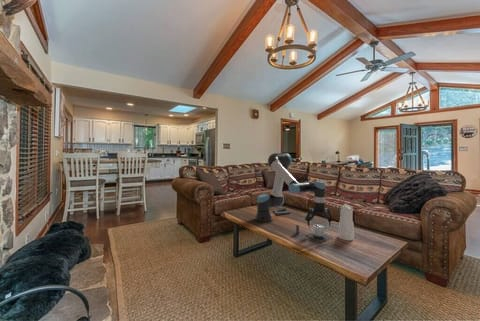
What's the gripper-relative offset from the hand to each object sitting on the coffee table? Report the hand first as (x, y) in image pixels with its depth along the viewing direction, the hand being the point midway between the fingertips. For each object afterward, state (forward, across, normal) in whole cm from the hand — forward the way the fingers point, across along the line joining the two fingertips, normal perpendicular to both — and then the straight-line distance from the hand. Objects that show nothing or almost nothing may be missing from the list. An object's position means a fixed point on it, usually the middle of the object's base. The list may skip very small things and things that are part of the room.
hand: (318, 229), depth 163 cm
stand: (+6, -14, +5) cm, 17 cm away
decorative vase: (+6, +21, 0) cm, 22 cm away
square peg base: (+6, 0, 0) cm, 6 cm away
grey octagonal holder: (+3, 0, 0) cm, 3 cm away
